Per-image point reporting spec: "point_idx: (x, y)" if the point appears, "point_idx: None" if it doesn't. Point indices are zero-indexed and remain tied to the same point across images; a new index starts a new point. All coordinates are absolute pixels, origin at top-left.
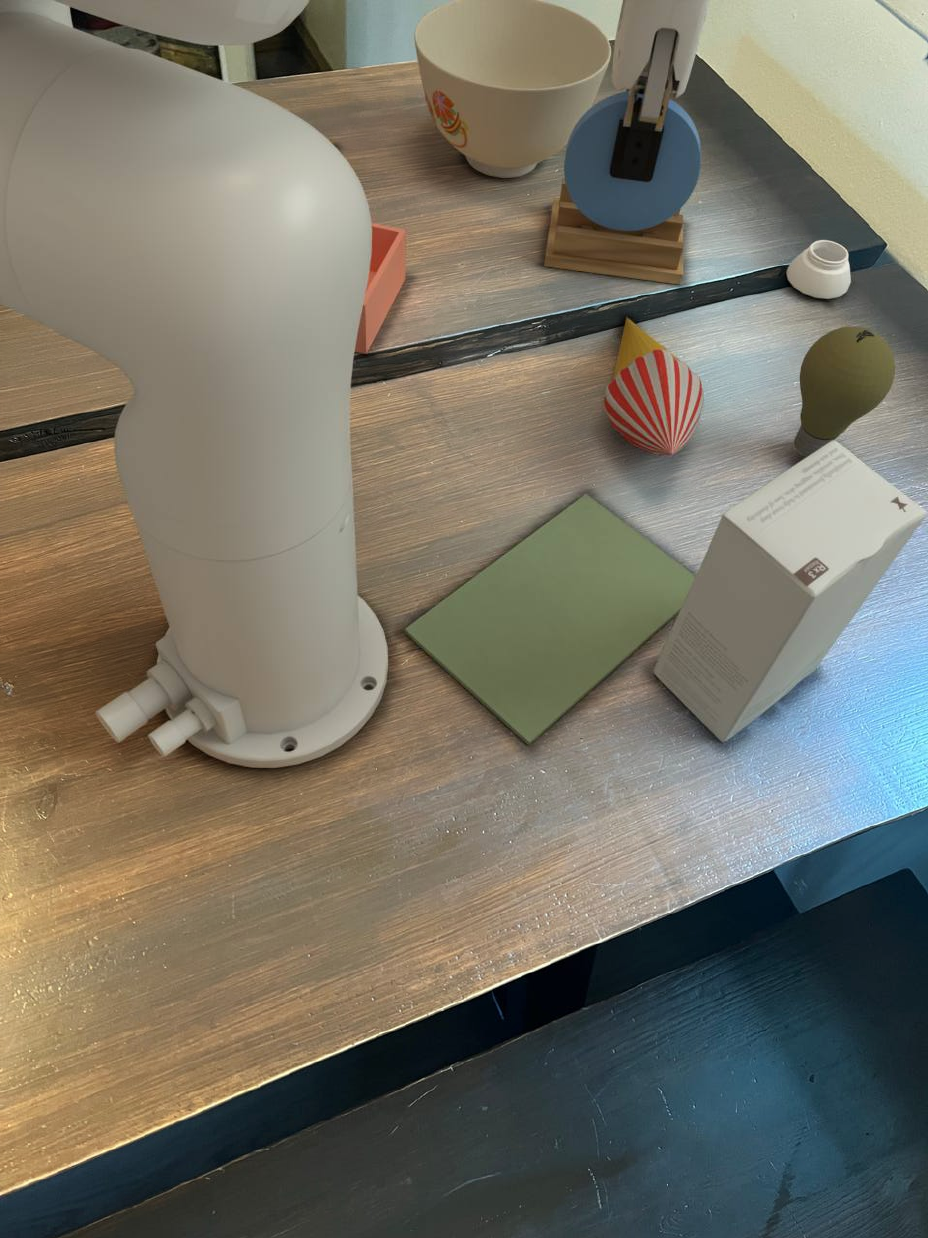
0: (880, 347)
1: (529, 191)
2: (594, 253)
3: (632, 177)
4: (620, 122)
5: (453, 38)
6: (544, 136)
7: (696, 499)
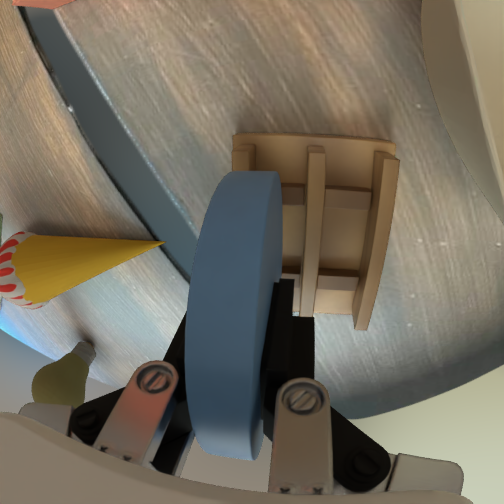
0: None
1: (427, 108)
2: None
3: None
4: (178, 358)
5: None
6: (447, 127)
7: None
